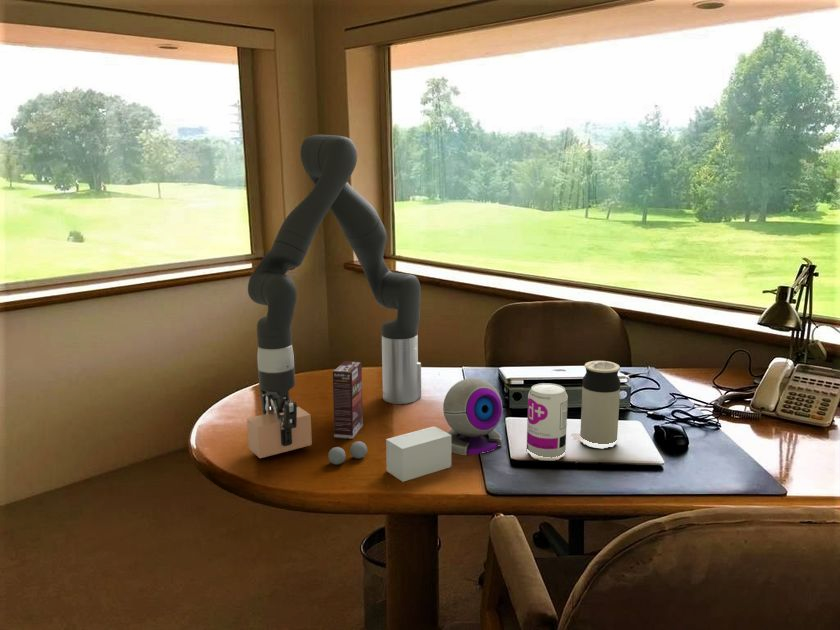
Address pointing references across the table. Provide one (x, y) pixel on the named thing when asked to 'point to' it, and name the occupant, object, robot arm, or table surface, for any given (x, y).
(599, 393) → the travel mug
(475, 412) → the webcam
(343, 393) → the supplement box
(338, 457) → the slate ball
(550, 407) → the supplement can
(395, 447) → the white rectangular eraser
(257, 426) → the peach rectangular block
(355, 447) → the slate ball
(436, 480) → the table surface
